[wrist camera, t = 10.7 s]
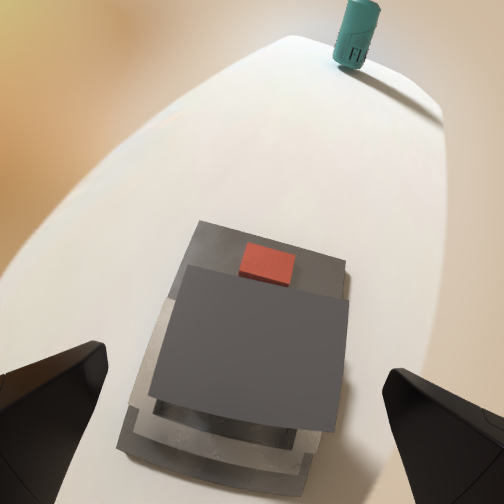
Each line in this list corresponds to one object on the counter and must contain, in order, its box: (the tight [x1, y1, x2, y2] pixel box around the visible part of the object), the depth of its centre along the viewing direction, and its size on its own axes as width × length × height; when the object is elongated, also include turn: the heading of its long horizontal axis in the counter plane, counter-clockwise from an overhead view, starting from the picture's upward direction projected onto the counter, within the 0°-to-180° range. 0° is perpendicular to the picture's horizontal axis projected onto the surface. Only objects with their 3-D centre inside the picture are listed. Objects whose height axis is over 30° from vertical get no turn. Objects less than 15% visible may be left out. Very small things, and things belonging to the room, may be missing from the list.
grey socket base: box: [116, 221, 346, 497], centre depth 18 cm, size 18×12×3 cm, turn 166°
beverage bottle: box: [332, 0, 381, 69], centre depth 39 cm, size 6×7×20 cm
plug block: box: [148, 265, 349, 432], centre depth 12 cm, size 4×5×11 cm
